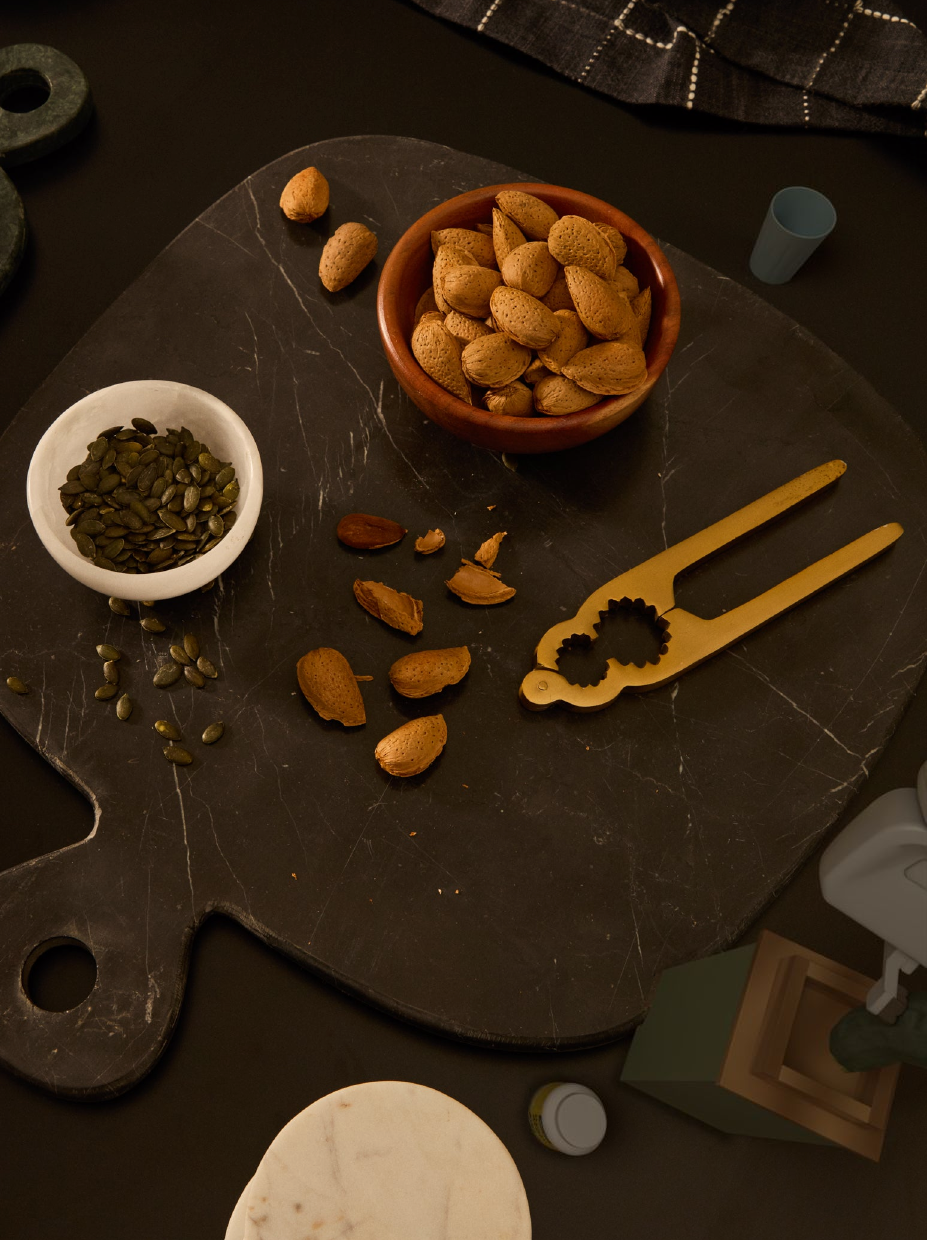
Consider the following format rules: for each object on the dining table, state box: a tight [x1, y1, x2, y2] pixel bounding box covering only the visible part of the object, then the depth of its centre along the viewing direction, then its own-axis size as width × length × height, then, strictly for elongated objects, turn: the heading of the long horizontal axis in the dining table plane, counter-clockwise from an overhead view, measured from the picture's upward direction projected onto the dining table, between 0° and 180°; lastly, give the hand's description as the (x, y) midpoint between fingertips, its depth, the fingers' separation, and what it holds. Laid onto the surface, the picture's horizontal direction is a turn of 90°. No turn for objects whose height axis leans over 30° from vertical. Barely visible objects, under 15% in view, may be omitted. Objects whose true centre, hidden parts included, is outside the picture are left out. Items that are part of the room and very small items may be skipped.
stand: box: [619, 942, 841, 1148], centre depth 92 cm, size 10×10×28 cm
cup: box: [749, 186, 837, 285], centre depth 139 cm, size 8×8×10 cm
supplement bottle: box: [527, 1081, 608, 1157], centre depth 98 cm, size 5×5×10 cm
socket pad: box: [715, 928, 903, 1163], centre depth 78 cm, size 11×11×4 cm
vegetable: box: [829, 990, 927, 1073], centre depth 67 cm, size 4×4×20 cm
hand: (923, 1042), depth 66 cm, fingers closed on vegetable, 4 cm apart
